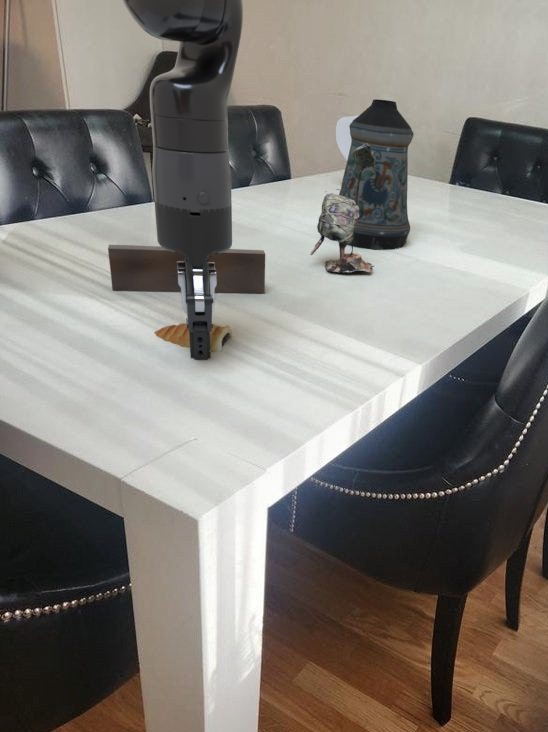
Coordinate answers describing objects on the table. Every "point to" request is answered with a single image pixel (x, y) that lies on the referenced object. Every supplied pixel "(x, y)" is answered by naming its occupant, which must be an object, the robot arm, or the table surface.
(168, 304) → the table surface
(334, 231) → the bird figurine
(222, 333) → the pastry
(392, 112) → the beer stein
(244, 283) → the backstop
